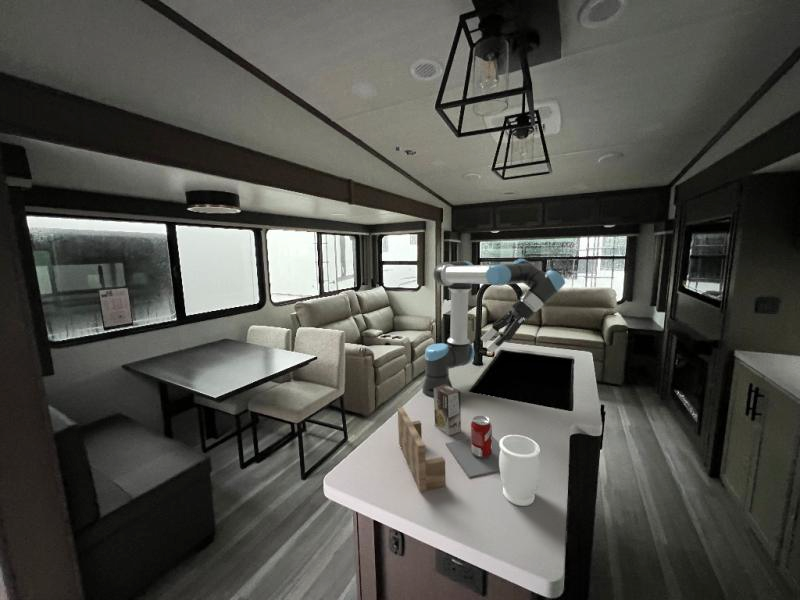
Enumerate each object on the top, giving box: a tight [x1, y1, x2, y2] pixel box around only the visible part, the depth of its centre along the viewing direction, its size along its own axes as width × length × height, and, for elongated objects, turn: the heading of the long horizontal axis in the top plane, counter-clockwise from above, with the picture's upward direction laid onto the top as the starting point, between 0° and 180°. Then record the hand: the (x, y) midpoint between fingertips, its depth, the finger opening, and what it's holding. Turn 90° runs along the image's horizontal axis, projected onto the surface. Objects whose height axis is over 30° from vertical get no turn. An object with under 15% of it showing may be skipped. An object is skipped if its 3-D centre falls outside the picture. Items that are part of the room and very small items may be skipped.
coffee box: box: [433, 384, 462, 436], centre depth 121 cm, size 9×6×16 cm
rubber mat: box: [445, 435, 501, 479], centre depth 104 cm, size 18×18×1 cm
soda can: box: [470, 415, 493, 458], centre depth 103 cm, size 7×7×12 cm
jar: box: [498, 434, 541, 507], centre depth 85 cm, size 11×10×15 cm
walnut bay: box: [397, 407, 447, 493], centre depth 100 cm, size 24×8×14 cm, turn 14°
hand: (485, 345), depth 118 cm, fingers open, 13 cm apart
